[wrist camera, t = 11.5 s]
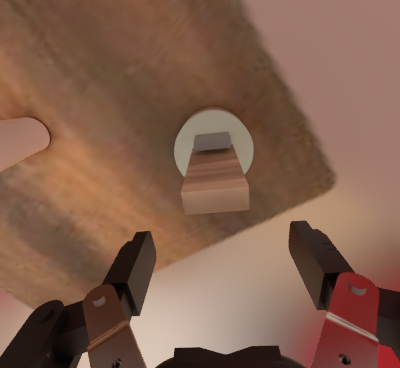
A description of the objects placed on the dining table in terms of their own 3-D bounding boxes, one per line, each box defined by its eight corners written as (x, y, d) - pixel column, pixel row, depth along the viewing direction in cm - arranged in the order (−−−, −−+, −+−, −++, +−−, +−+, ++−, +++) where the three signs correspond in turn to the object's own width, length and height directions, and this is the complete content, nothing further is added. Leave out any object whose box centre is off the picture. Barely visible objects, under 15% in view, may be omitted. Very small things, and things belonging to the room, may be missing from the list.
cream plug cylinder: (176, 110, 32) (161, 122, 22) (244, 102, 31) (259, 111, 21) (185, 172, 36) (177, 205, 26) (245, 167, 35) (259, 198, 25)
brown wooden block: (192, 148, 27) (181, 192, 16) (232, 143, 26) (248, 186, 15) (194, 163, 28) (185, 215, 17) (233, 159, 27) (249, 209, 16)
